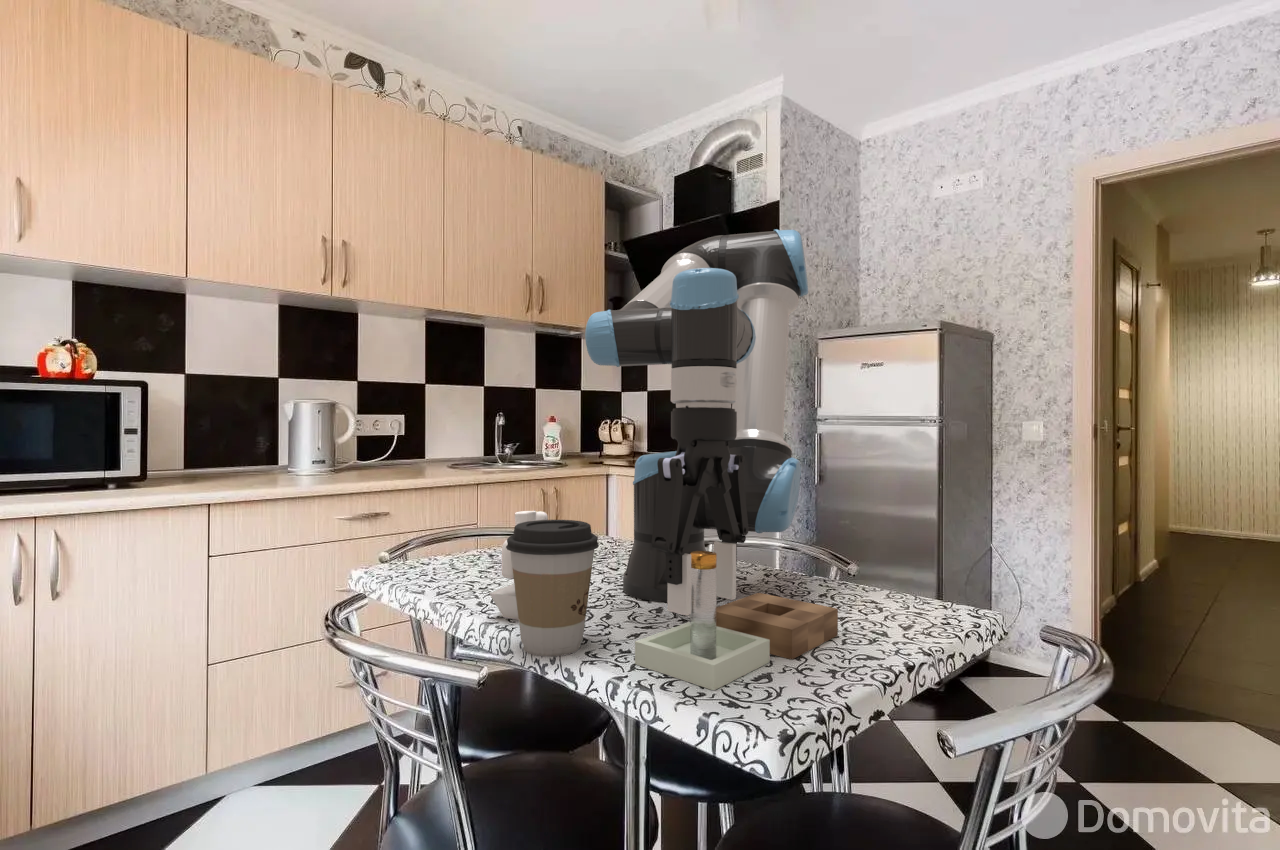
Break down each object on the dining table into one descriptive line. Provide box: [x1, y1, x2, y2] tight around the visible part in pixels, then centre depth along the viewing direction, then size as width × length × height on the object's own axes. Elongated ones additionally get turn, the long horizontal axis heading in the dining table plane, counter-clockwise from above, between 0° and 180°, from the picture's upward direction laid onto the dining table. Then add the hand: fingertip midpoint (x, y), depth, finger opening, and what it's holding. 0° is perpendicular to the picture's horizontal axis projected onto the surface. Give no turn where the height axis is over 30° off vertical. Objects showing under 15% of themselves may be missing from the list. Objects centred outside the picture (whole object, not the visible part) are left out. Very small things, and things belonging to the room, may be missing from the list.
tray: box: [634, 621, 771, 691], centre depth 75 cm, size 11×11×3 cm
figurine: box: [489, 510, 549, 621], centre depth 94 cm, size 7×9×15 cm
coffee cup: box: [506, 519, 600, 658], centre depth 81 cm, size 11×11×15 cm
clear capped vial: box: [689, 550, 717, 660], centre depth 75 cm, size 3×3×12 cm
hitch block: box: [716, 592, 839, 661], centre depth 85 cm, size 12×12×4 cm
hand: (702, 604), depth 75 cm, fingers open, 8 cm apart
